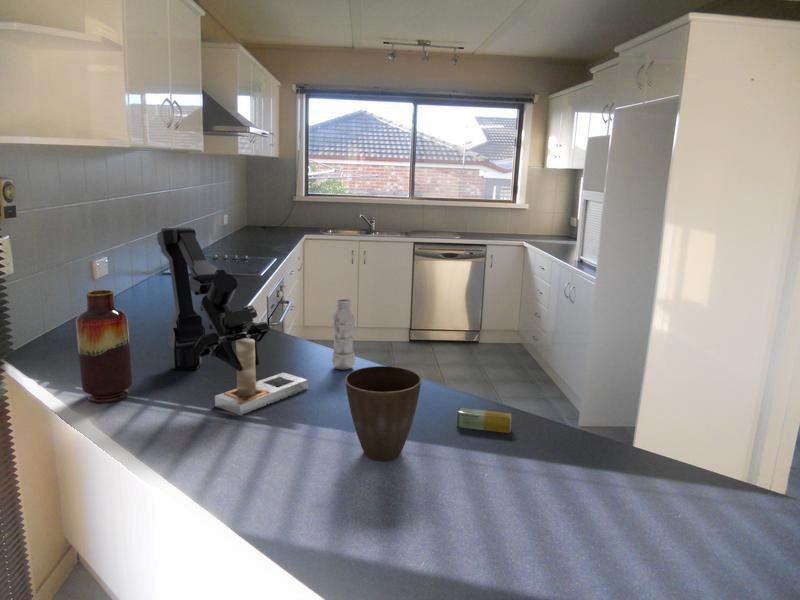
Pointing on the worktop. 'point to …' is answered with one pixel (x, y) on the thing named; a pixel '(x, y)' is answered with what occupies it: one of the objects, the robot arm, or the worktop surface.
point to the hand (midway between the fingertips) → (249, 368)
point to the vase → (104, 349)
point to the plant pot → (382, 408)
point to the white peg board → (262, 393)
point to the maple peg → (246, 367)
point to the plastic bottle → (343, 336)
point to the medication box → (484, 420)
